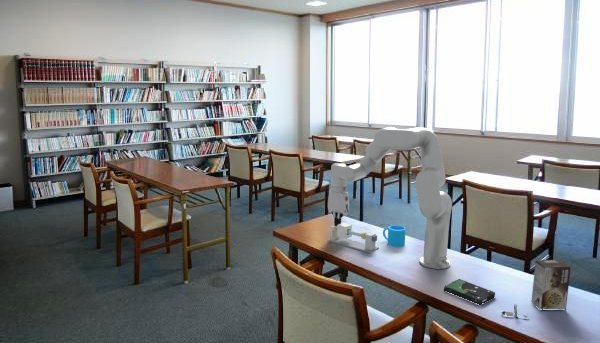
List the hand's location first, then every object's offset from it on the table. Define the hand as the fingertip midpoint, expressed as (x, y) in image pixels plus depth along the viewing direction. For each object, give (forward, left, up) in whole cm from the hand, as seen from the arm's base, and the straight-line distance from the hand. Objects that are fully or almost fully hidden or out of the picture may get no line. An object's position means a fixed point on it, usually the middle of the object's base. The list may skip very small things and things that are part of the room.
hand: (337, 225), depth 222 cm
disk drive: (-67, -28, -8) cm, 73 cm away
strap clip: (-84, -33, -8) cm, 91 cm away
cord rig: (-7, -5, -8) cm, 12 cm away
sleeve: (-3, -2, -5) cm, 6 cm away
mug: (-9, -25, -8) cm, 28 cm away
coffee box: (-81, -49, -8) cm, 95 cm away
